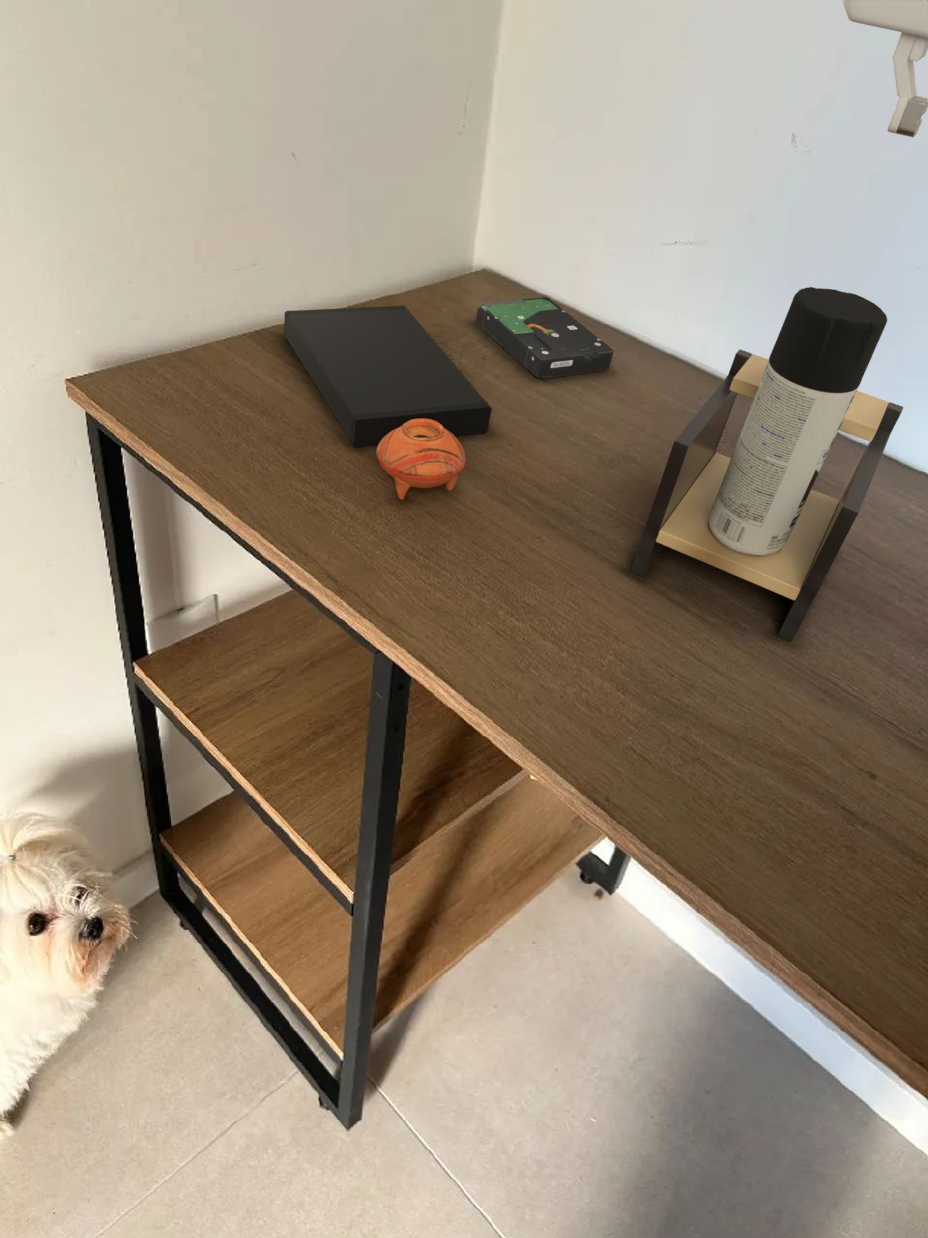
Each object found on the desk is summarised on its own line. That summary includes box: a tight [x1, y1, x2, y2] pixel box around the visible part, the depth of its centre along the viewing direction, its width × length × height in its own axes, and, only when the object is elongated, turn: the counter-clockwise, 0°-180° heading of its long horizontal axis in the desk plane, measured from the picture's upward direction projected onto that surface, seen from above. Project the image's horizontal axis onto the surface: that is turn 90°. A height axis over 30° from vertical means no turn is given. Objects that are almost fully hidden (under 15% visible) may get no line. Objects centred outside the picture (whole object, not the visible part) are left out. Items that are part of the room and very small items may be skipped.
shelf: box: [630, 349, 904, 643], centre depth 79 cm, size 14×16×15 cm
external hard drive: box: [283, 305, 492, 448], centre depth 97 cm, size 14×23×3 cm, turn 25°
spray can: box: [709, 286, 888, 556], centre depth 71 cm, size 7×7×20 cm
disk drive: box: [475, 296, 615, 379], centre depth 110 cm, size 10×3×15 cm
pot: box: [375, 418, 467, 501], centre depth 83 cm, size 8×8×7 cm
